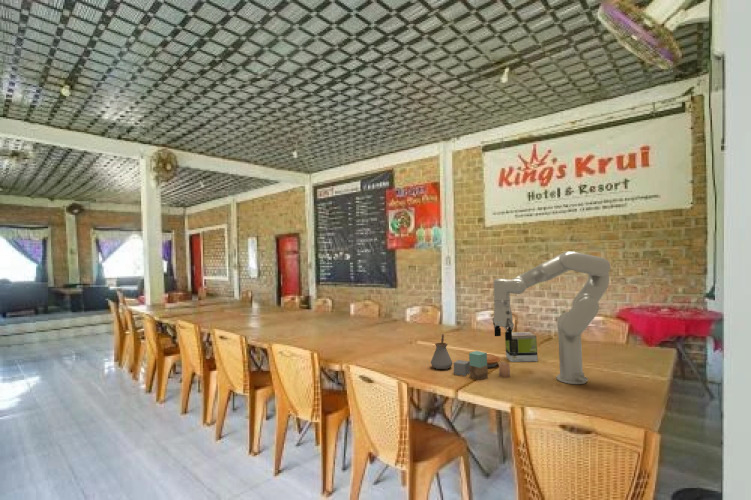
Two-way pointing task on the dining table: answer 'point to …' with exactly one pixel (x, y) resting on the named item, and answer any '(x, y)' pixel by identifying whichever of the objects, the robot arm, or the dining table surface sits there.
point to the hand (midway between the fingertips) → (503, 338)
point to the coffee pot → (441, 356)
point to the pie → (492, 360)
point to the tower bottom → (479, 372)
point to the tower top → (478, 359)
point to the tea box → (521, 347)
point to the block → (461, 367)
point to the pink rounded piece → (504, 369)
